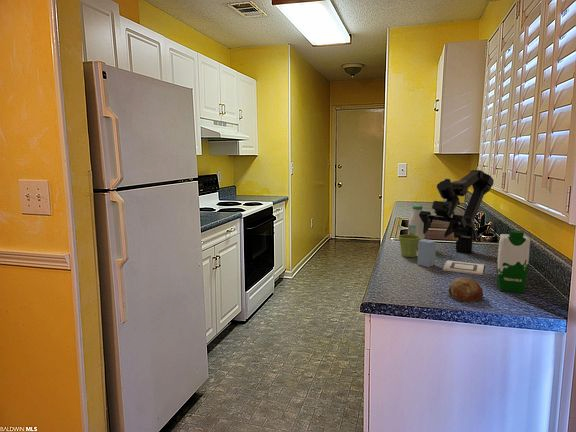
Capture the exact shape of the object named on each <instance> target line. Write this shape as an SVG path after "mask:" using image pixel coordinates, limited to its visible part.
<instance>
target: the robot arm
mask: <svg viewBox="0 0 576 432" xmlns="http://www.w3.org/2000/svg"><path fill="white" fill-rule="evenodd" d="M471 186H472V188H473V189H472V190H473V191H472V192H471V193H472V194H471V197H469V201H468V204H467V206H466V208H465V210H464V212H463V213H464V214H455V213H456V212H455V210H456V208H457V206H460V205H461V202H460V198H459V197H465V196H466V195H467V193H468V192H469V191H468V190H469V188H470V187H471ZM493 186H494V178H493V177H492V176H491V175H489V174H487V173H485V172H484V171H483V170H480V169H472V170H470V171H469V172H468V174H466V175H464V176H463V177H462V178H461V179H459V180H453V181H451V179H450V178H445V179H444V180H442V181H440V182H438V183H437V185H436V189H437V191H438V194H439V195H440V197H441V199H443V201H442V200H433V202H432V205H431V209H433V210H434V211H433V212H434V214H431V211H429V210H428V211H427V210H422V211H421V212H420V213H419V217H420V218H421V220H422V222H423V223H424V226H423V233H424V234H425V235H426V233H427V232H428V230H429V228H430V227H431V226H432V224H433V221H438V222H443V223H449V225H448V226H447V228H446V230H445V233H444V235H443V237H444V238H447V237H448V236H449V235H452V234H453V236H454V238H457V240H456V241H455V250H456V253H464V254H465V253H466V254H472V253H473V252H474V251H473V242H474V241H477V239H478V235H479V234H478V232H477V230H476V224H475V219H476V216H477V213H478V211H479V208H480V206H481V203H482V201H483V198H484V196H485V194H487V193H488V192H490V191H491V189H492V187H493Z"/></svg>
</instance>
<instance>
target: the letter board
mask: <svg viewBox="0 0 576 432" xmlns="http://www.w3.org/2000/svg"><path fill="white" fill-rule="evenodd" d="M484 267H485V264H482V263H474V262H465V261H454V260H446V262H445V263H444V266H443V268H442V271H444V272H445V271H446V272H454V273H462V274H470V275H478V276H479V275H480V276H483V274H484Z"/></svg>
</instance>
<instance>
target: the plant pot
mask: <svg viewBox="0 0 576 432" xmlns="http://www.w3.org/2000/svg"><path fill="white" fill-rule="evenodd" d="M397 237H398V238H399V239H398V240H399V245H400V253H401V254H400V255H401V256H402V257H405V258H410V257H411V258H414V257H416V256H417V253H418V248H417V247H418V242H419V239H420V238H421V237H420V236H417V235H408V234H399V235H398V236H397Z"/></svg>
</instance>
